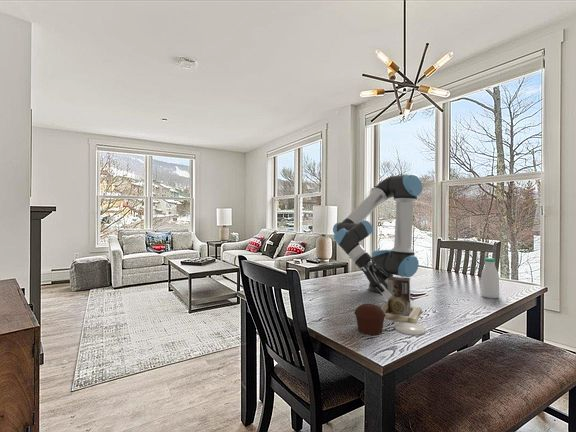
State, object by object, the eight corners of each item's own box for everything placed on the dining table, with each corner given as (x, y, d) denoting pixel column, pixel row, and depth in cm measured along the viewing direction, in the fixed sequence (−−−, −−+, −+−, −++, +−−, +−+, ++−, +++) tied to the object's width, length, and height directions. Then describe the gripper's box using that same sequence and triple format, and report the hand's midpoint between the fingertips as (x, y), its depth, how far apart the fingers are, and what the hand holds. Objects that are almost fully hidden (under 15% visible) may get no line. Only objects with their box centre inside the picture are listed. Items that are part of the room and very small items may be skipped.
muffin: (390, 330, 120) (390, 304, 120) (377, 339, 112) (377, 311, 111) (362, 323, 128) (362, 298, 127) (348, 331, 119) (348, 305, 119)
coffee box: (410, 313, 138) (410, 277, 138) (409, 318, 132) (409, 280, 132) (389, 311, 142) (389, 275, 142) (387, 315, 136) (387, 278, 136)
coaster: (391, 331, 119) (391, 329, 119) (398, 322, 128) (398, 320, 128) (423, 337, 113) (423, 335, 113) (427, 327, 122) (427, 325, 122)
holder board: (376, 317, 134) (375, 312, 134) (385, 307, 148) (385, 302, 148) (415, 323, 126) (415, 318, 126) (421, 312, 140) (421, 307, 140)
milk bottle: (501, 299, 158) (501, 259, 158) (484, 298, 160) (484, 259, 159) (494, 294, 166) (494, 257, 165) (478, 294, 167) (478, 257, 167)
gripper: (363, 258, 157) (394, 292, 149) (344, 266, 135) (379, 306, 128) (373, 248, 154) (405, 282, 146) (356, 255, 132) (392, 295, 125)
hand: (393, 293), depth 137 cm, fingers open, 13 cm apart
